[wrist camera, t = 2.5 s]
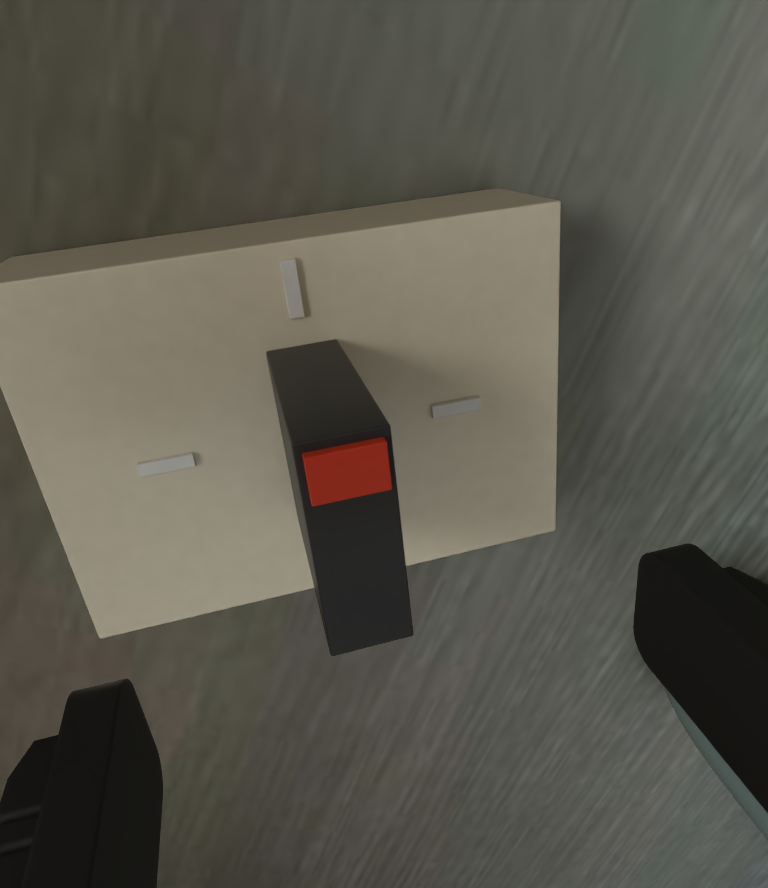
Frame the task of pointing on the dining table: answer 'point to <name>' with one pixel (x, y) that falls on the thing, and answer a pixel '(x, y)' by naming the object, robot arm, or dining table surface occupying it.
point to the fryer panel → (252, 398)
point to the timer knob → (343, 494)
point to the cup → (723, 771)
